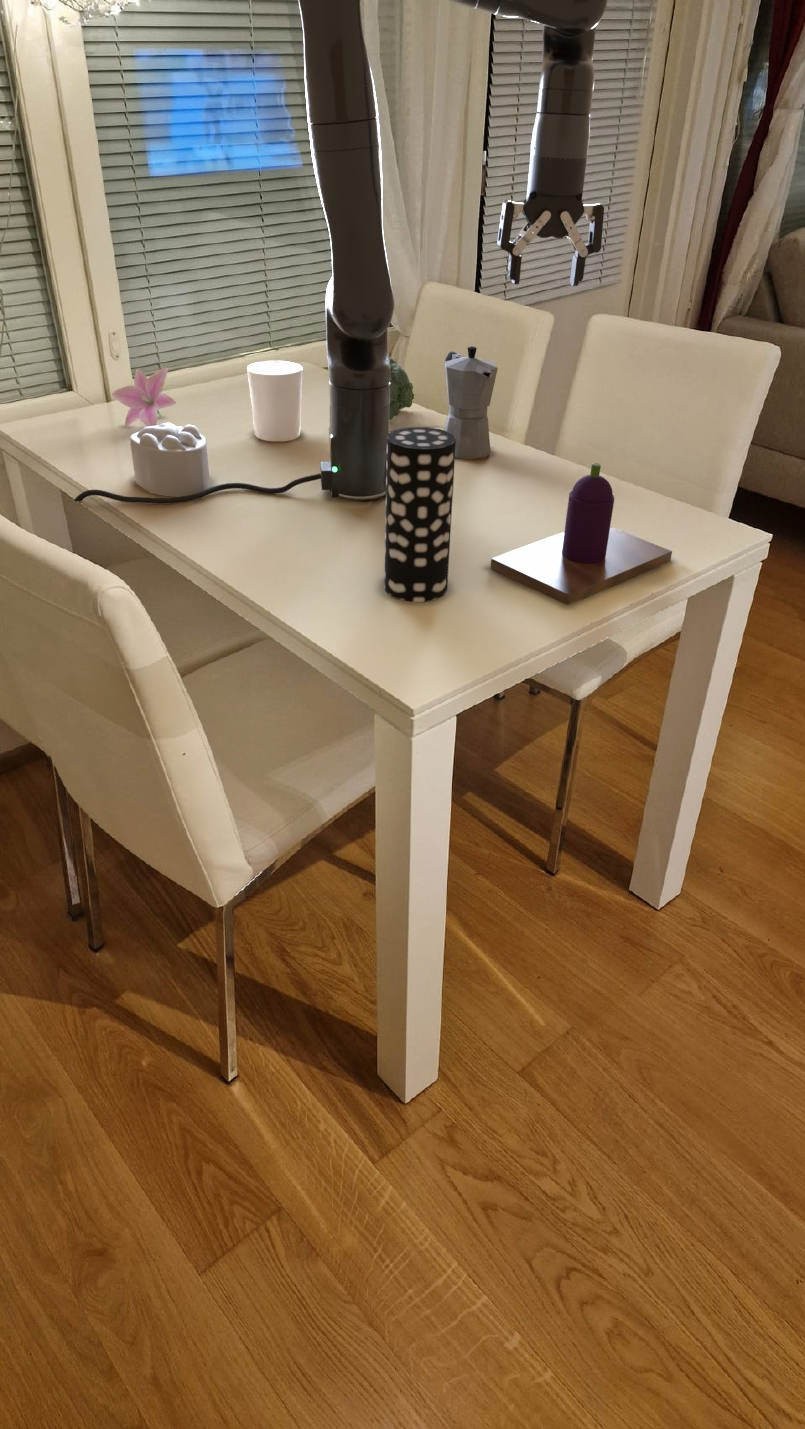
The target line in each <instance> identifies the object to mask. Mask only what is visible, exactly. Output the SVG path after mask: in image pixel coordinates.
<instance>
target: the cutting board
mask: <svg viewBox="0 0 805 1429" xmlns="http://www.w3.org/2000/svg"><path fill="white" fill-rule="evenodd" d="M564 532H565V531H562V532H559V533H557V534H554V535H551V536H549V537H546V538H543V539H540V540H538V541H534V542H532V543H530V544H527V545H524V546H521V547H519V548H516V549H512V550H510V551H508V552H505V553H502V554H499V555H496V556H494V557H491V559H490V569H491V570H493V571H495V572H498V573H499V574H500V575H501V574H502V575H503V576H505V577H508V578H510V579H511V580H514V581H516V582H518V583H520V584H522V585H525V586H527V587H529V588H530V589H533V590H535V591H537V592H539V593H541V594H543V595H545V596H547V597H550V598H552V599H554V600H555V601H558V602H560V603H562V604H564V605H566V606H569V605H572V604H574V603H576V602H579V601H581V600H583V599H585V598H588V597H591V596H593V595H595V594H597V593H600V592H602V591H604V590H606V589H608V588H611V587H613V586H616V585H618V584H621V583H622V582H625V581H627V580H629V579H632V578H635V577H636V576H639V575H641V574H643V573H647V572H648V571H650V570H652V569H655V568H657V567H660V566H663V565H664V564H667V563H669V562H671V560H672V554H673V550H670V549H668V548H665V547H663V546H661V545H658V544H655V543H653V542H650V541H648V540H645V539H643V538H640V537H637V536H635V535H632V534H630V533H627V532H626V531H622V530H620V529H617V528H615V527H613V526H610V531H609V537H608V544H607V550H606V557H605V559H604V560H603V561H601V562H597V563H578V562H574V561H571V560H569V559H567V558H565V557H564V556H563V554H562V548H563V540H564Z"/></svg>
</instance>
